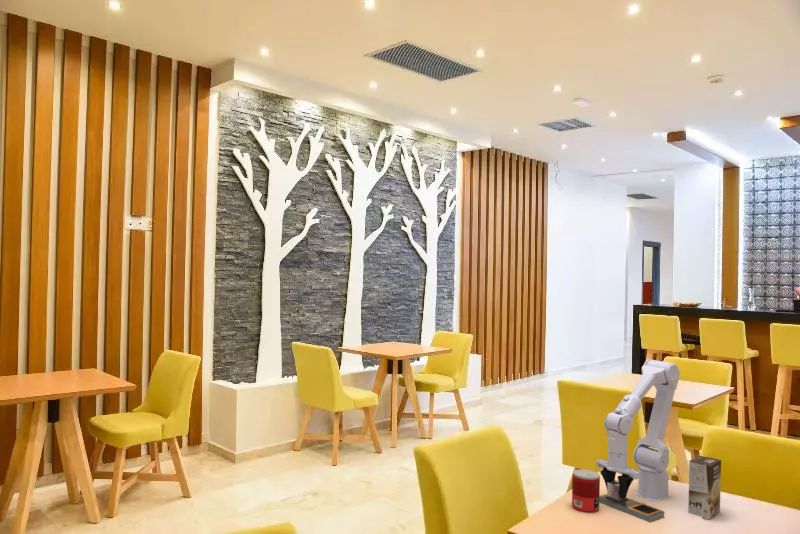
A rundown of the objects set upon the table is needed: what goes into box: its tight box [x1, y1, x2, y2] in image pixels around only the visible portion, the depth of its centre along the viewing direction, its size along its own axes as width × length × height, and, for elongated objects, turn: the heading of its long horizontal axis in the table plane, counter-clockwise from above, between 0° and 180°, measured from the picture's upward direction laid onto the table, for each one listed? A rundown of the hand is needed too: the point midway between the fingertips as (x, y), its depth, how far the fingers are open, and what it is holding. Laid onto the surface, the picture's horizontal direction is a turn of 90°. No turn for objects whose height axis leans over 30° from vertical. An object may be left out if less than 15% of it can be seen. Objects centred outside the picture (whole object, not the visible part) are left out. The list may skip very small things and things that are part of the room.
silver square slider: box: [606, 479, 627, 503], centre depth 191 cm, size 4×4×6 cm
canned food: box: [571, 468, 601, 514], centre depth 187 cm, size 8×8×11 cm
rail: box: [599, 494, 665, 523], centre depth 186 cm, size 7×18×2 cm, turn 34°
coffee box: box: [687, 455, 722, 520], centre depth 186 cm, size 9×6×16 cm
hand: (616, 495), depth 191 cm, fingers closed on silver square slider, 4 cm apart
